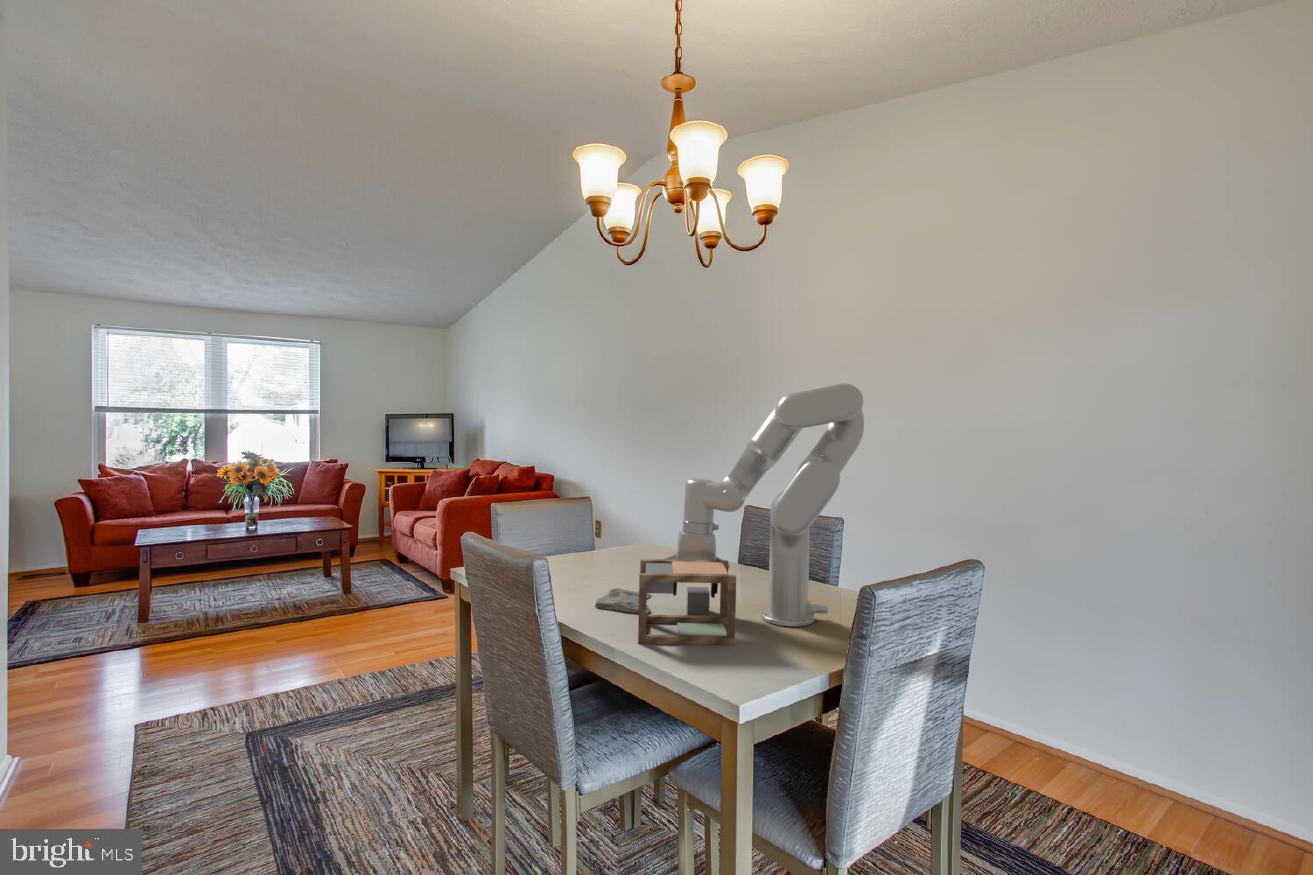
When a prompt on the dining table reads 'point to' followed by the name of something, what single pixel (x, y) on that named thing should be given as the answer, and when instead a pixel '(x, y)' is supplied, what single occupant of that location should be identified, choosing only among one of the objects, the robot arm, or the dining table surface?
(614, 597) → the fossil rock
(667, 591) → the trapdoor
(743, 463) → the robot arm
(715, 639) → the stand
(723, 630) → the mat
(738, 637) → the dining table surface
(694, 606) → the grey block
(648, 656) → the dining table surface
